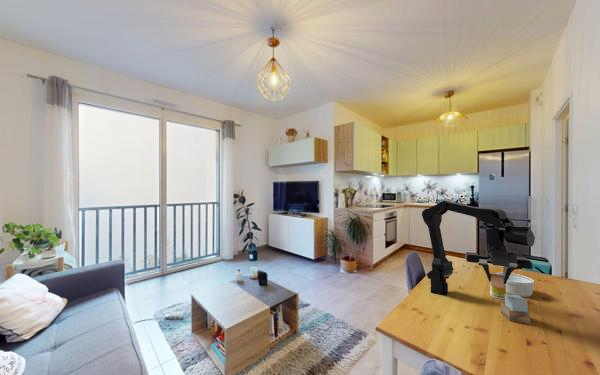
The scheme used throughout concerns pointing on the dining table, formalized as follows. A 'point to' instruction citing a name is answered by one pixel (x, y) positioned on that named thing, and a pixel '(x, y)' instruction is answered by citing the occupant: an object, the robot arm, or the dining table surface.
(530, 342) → the dining table surface
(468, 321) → the dining table surface
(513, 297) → the slate block
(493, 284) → the terracotta dowel
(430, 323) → the dining table surface
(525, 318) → the walnut base block
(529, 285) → the ramekin
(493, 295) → the supplement bottle
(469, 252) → the robot arm
